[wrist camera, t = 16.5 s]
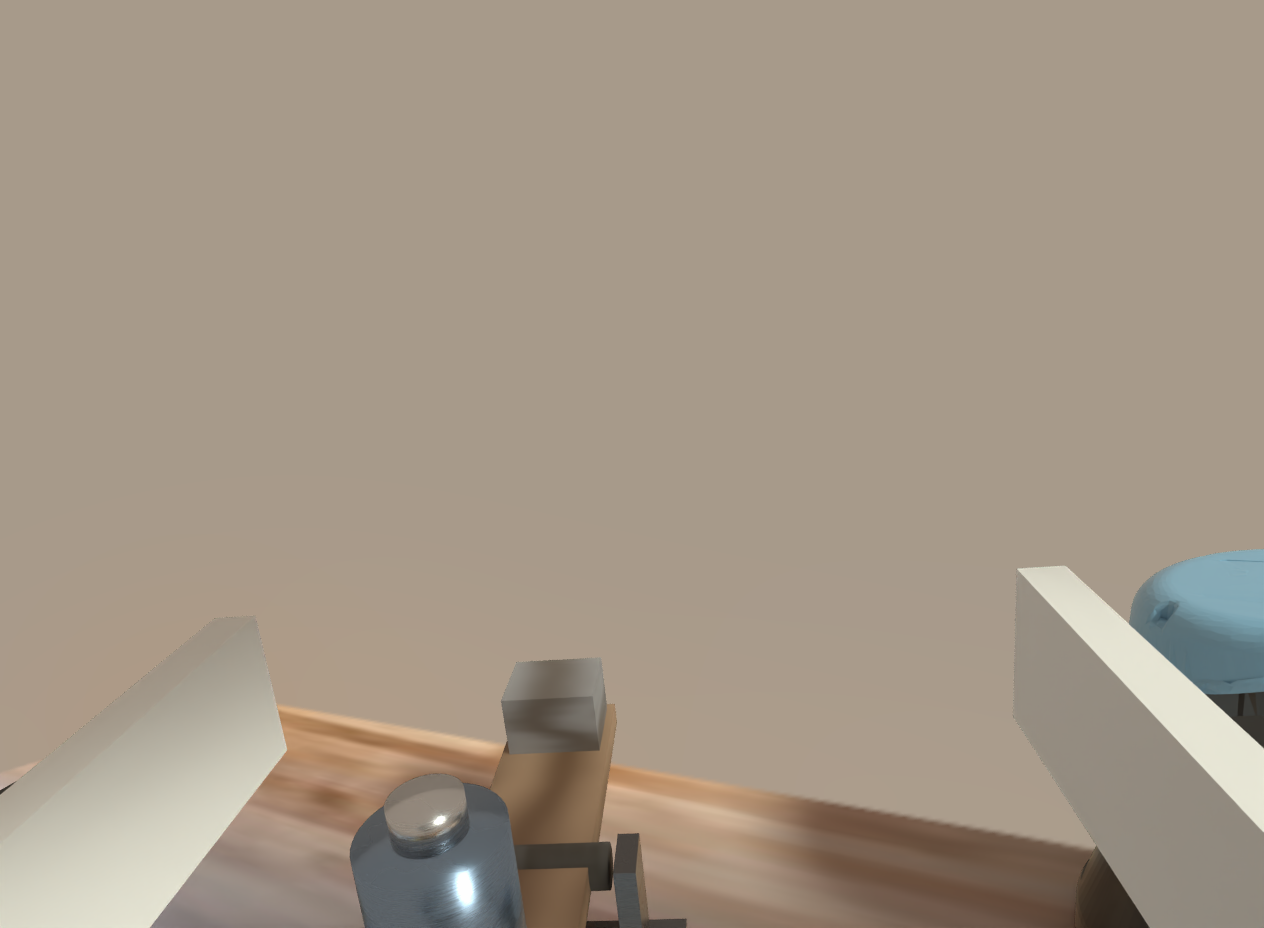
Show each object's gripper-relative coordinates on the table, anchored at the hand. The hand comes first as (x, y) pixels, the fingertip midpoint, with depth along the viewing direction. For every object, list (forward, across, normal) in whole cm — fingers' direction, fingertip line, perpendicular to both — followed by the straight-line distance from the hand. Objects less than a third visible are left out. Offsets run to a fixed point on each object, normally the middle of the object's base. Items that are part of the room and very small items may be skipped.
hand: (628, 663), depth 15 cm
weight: (+14, -10, -25) cm, 30 cm away
